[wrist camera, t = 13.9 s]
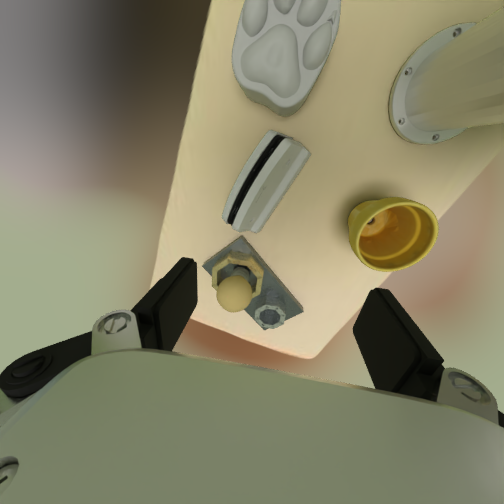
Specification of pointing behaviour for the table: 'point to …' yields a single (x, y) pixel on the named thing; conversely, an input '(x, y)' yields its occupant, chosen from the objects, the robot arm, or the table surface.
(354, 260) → the table surface
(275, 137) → the white rounded block
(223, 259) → the fitting plate
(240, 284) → the light bulb
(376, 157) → the table surface
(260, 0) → the lumpy-topped squat cylinder
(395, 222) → the plant pot
